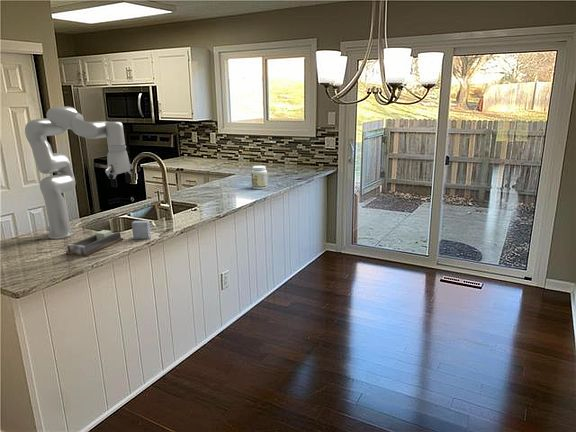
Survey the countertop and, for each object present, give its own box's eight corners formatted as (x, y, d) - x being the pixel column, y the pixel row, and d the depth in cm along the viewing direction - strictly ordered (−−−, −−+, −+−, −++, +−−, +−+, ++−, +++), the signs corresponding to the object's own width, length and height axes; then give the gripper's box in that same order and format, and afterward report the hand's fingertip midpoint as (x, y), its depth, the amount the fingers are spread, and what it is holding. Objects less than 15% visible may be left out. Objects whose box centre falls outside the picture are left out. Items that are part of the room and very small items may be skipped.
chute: (66, 253, 194) (64, 244, 193) (104, 237, 216) (103, 229, 214) (86, 256, 190) (84, 247, 189) (123, 240, 212) (122, 231, 210)
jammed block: (96, 241, 206) (95, 232, 205) (104, 238, 211) (103, 229, 210) (105, 242, 205) (104, 233, 203) (112, 239, 209) (111, 230, 208)
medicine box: (151, 236, 217) (149, 220, 214) (148, 239, 213) (147, 222, 210) (136, 236, 217) (134, 220, 214) (133, 239, 212) (131, 223, 210)
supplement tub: (248, 188, 328) (247, 166, 324) (260, 185, 336) (260, 164, 332) (258, 190, 320) (257, 168, 315) (270, 188, 328) (270, 166, 323)
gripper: (123, 146, 203) (128, 181, 208) (96, 151, 188) (102, 188, 192) (136, 147, 201) (140, 182, 205) (109, 151, 185) (115, 189, 190)
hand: (121, 185), depth 199 cm, fingers open, 9 cm apart
